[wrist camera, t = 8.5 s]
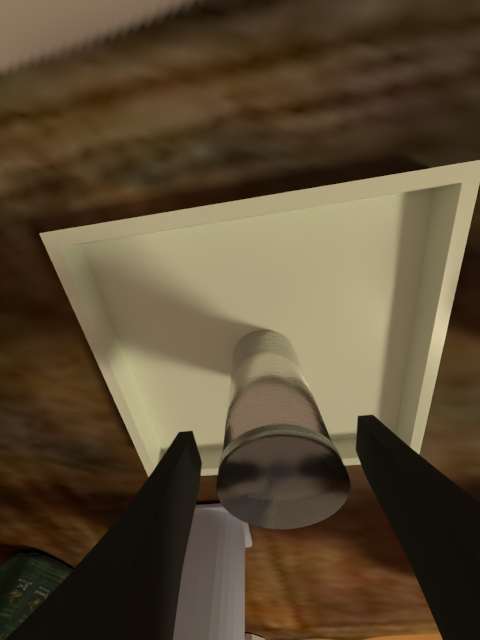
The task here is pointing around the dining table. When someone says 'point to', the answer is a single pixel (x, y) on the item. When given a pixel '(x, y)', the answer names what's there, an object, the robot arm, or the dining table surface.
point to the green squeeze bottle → (26, 587)
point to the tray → (274, 302)
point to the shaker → (276, 441)
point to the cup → (252, 637)
